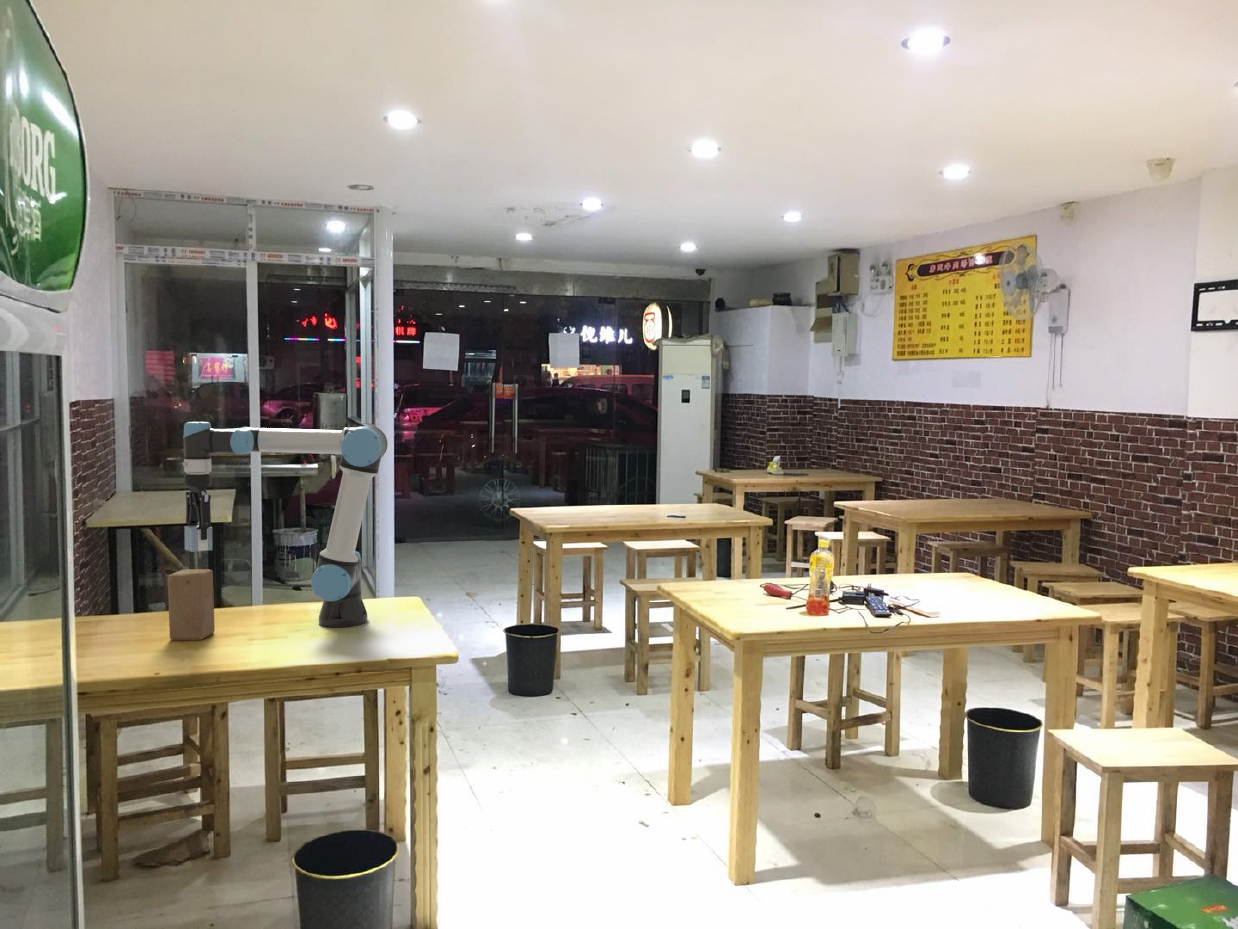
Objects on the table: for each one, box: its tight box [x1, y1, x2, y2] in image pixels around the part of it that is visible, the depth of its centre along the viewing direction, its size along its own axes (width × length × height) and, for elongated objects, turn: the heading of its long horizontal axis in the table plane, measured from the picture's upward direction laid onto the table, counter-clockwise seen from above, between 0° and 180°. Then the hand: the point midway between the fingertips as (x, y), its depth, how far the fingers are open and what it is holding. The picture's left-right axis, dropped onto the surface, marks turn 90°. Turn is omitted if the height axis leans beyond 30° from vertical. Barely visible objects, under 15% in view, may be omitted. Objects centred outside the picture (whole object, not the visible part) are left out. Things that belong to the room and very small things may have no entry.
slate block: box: [184, 525, 213, 553], centre depth 295 cm, size 6×6×7 cm
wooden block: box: [167, 568, 216, 641], centre depth 295 cm, size 10×10×20 cm
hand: (198, 548), depth 295 cm, fingers closed on slate block, 6 cm apart
